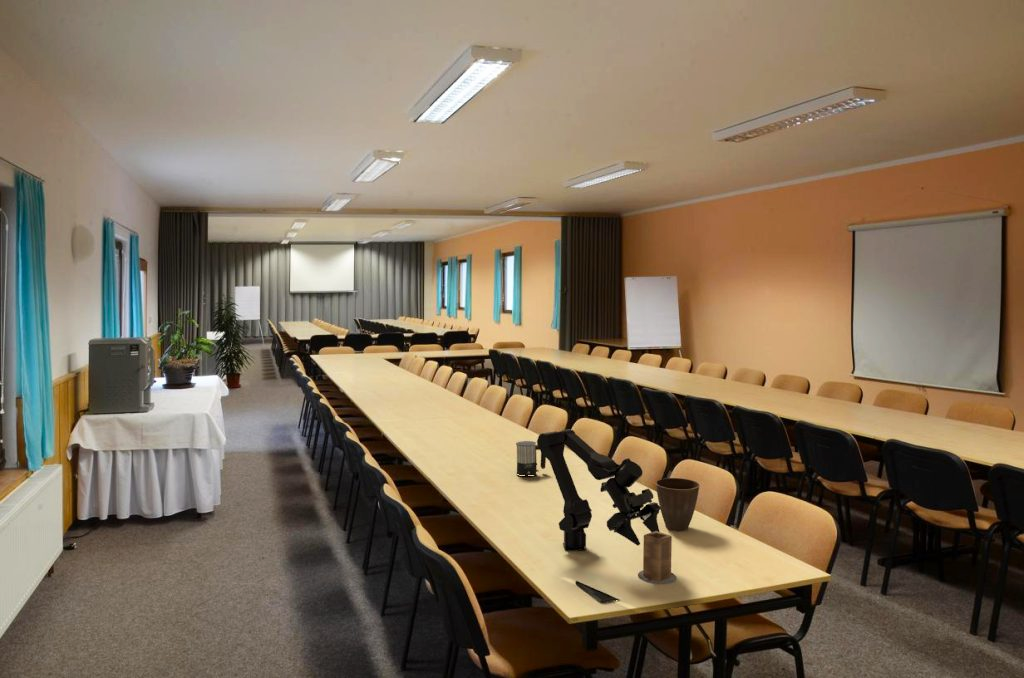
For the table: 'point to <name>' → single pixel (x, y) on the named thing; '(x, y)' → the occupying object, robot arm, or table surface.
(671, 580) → the peg stand
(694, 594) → the table surface
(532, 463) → the milk frother
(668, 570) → the walnut sleeve
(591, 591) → the phone
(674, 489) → the plant pot
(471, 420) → the table surface
